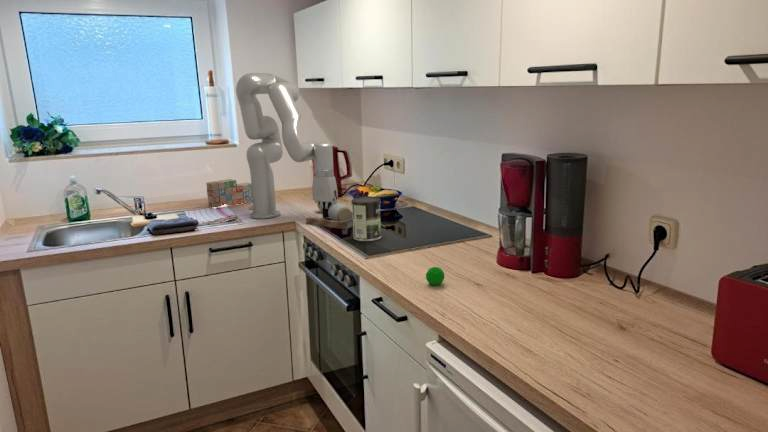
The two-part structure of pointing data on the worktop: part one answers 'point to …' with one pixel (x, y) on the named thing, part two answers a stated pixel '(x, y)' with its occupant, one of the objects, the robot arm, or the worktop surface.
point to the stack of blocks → (228, 193)
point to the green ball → (435, 276)
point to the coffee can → (366, 218)
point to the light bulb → (339, 212)
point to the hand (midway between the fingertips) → (326, 217)
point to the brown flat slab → (330, 223)
